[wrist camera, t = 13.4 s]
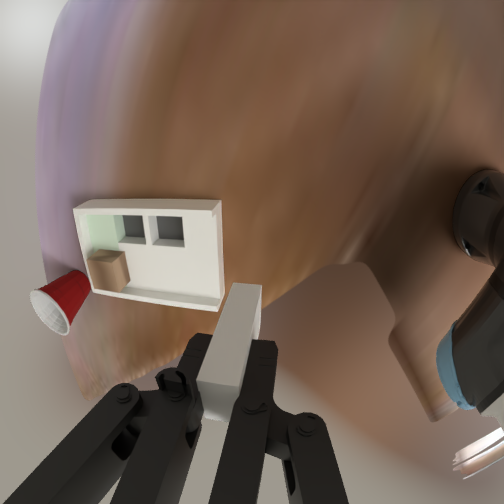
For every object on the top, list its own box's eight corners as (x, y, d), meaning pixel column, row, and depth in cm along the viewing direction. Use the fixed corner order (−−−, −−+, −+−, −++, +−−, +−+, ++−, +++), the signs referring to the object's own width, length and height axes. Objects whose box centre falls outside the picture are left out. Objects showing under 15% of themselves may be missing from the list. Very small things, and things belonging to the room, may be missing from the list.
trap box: (221, 199, 41) (211, 210, 36) (224, 293, 48) (217, 311, 43) (90, 199, 44) (72, 208, 39) (106, 278, 51) (93, 292, 46)
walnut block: (124, 251, 43) (112, 262, 40) (130, 280, 46) (119, 293, 42) (99, 249, 44) (86, 259, 41) (105, 276, 47) (94, 288, 43)
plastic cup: (61, 286, 54) (30, 316, 44) (64, 250, 50) (27, 279, 39) (97, 311, 56) (68, 346, 45) (103, 277, 51) (68, 312, 40)
